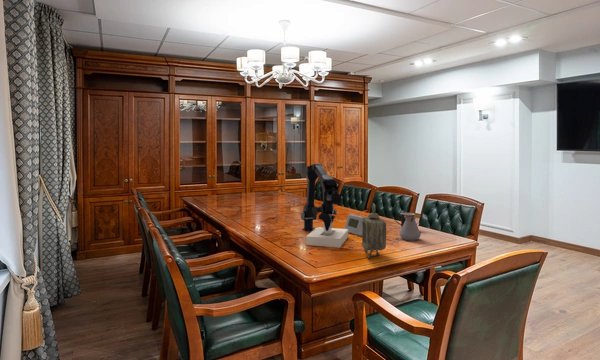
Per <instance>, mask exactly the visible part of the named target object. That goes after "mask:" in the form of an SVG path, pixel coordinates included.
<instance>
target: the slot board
mask: <svg viewBox="0 0 600 360" xmlns="http://www.w3.org/2000/svg"><path fill="white" fill-rule="evenodd" d="M323 227H324V226H322V227H320V226H319V227H315V229H313V230H311V231H310V233H308V234H307V235H306V236H305V245H306V246H315V247H316V246H317V247H328V248H339V249H340V248H341V247H342V245H343V244H344V243H345V241H346V240H347V239H348V238H349V233H348V229H344V228H334V227H332V233H331V234H328V233H323Z"/></svg>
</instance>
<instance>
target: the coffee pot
mask: <svg viewBox="0 0 600 360" xmlns="http://www.w3.org/2000/svg"><path fill="white" fill-rule="evenodd" d="M404 218H405V219H406V220H405V222H404V224H403V227H402V226H401V229H400V230H399V237H401V239H402V240H404V241H408V242H409V241H411V242H414V241H417V240H418V239H420V237H421V235H422V234H421V231H420V229H419V227H418V224H417V222H416V218H417V216H416V215H415V216H404Z"/></svg>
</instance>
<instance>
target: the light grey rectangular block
mask: <svg viewBox="0 0 600 360" xmlns="http://www.w3.org/2000/svg"><path fill="white" fill-rule="evenodd" d="M322 227H323V233H328V234H331V233H332V228H333V223H332V221H331V224H330V227H329V229H328V231H326V229H325V225H324V224H323V226H322Z"/></svg>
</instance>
